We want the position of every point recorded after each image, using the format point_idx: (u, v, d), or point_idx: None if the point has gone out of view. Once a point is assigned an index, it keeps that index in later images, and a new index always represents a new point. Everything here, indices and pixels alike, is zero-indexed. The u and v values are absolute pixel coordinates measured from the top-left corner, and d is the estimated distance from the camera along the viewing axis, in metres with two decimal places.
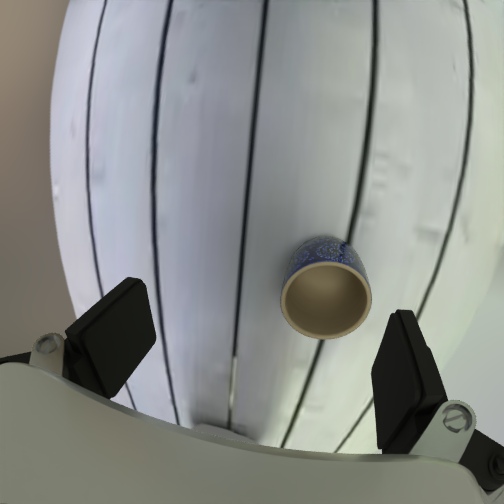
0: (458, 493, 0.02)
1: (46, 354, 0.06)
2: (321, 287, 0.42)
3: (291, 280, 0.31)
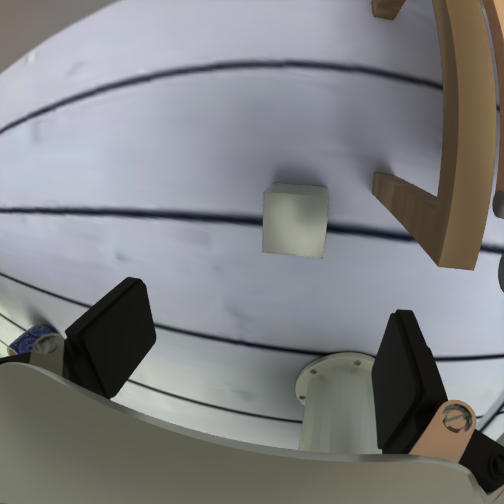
0: (458, 493, 0.02)
1: (46, 354, 0.06)
2: None
3: None
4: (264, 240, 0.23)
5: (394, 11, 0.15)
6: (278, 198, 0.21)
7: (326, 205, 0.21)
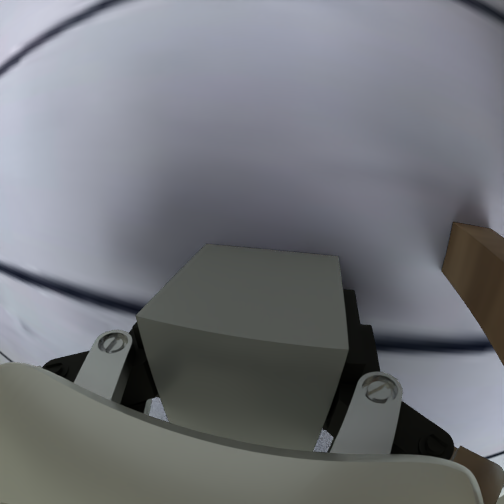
0: (458, 493, 0.02)
1: (107, 353, 0.07)
2: None
3: None
4: (168, 410, 0.08)
5: None
6: (177, 340, 0.06)
7: (335, 370, 0.06)
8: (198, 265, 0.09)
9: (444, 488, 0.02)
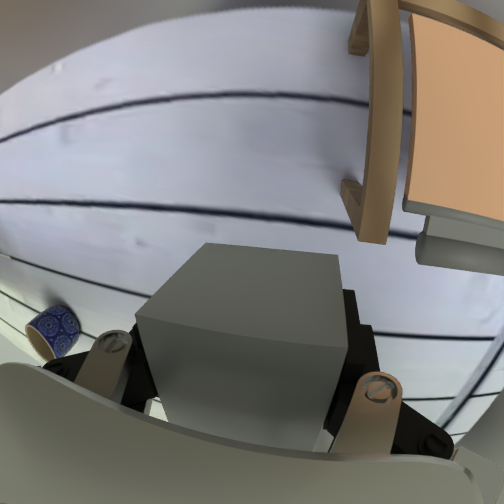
0: (458, 493, 0.02)
1: (107, 353, 0.07)
2: None
3: (38, 332, 0.43)
4: (167, 409, 0.08)
5: (364, 50, 0.23)
6: (177, 338, 0.06)
7: (335, 368, 0.06)
8: (197, 264, 0.09)
9: (444, 488, 0.02)
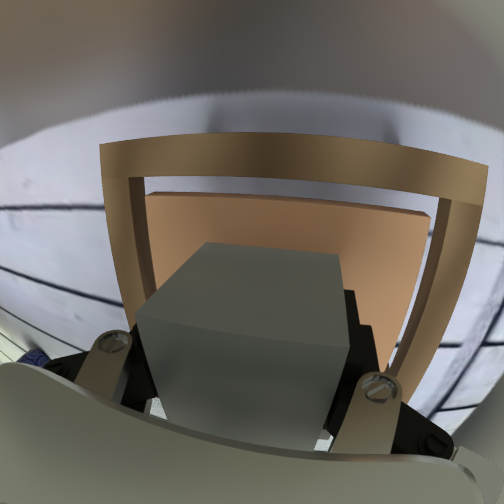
0: (458, 493, 0.02)
1: (107, 353, 0.07)
2: None
3: None
4: (167, 409, 0.08)
5: None
6: (176, 338, 0.06)
7: (336, 368, 0.06)
8: (197, 263, 0.09)
9: (444, 488, 0.02)
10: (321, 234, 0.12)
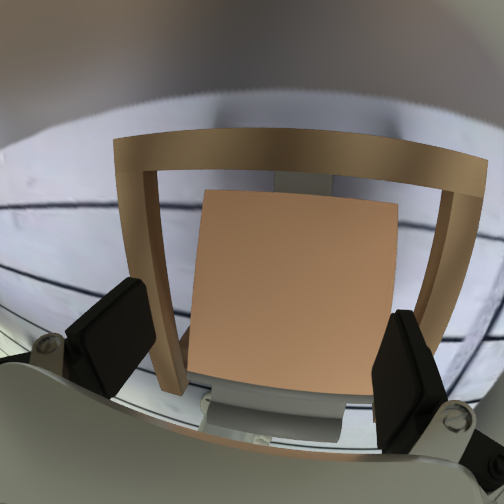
0: (458, 493, 0.02)
1: (46, 354, 0.06)
2: None
3: None
4: None
5: None
6: None
7: None
8: None
9: (444, 488, 0.02)
10: (326, 215, 0.19)
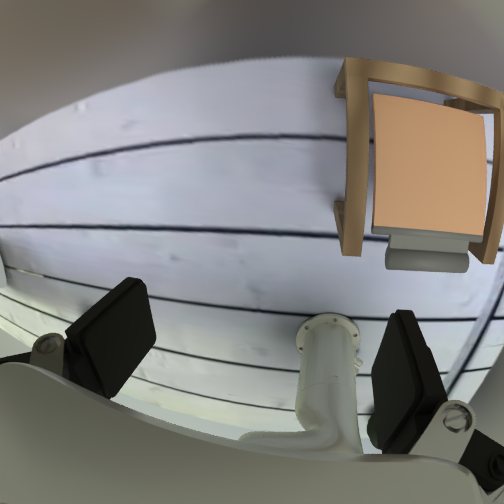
0: (458, 493, 0.02)
1: (46, 354, 0.06)
2: None
3: None
4: None
5: None
6: None
7: None
8: None
9: (444, 488, 0.02)
10: (449, 118, 0.22)
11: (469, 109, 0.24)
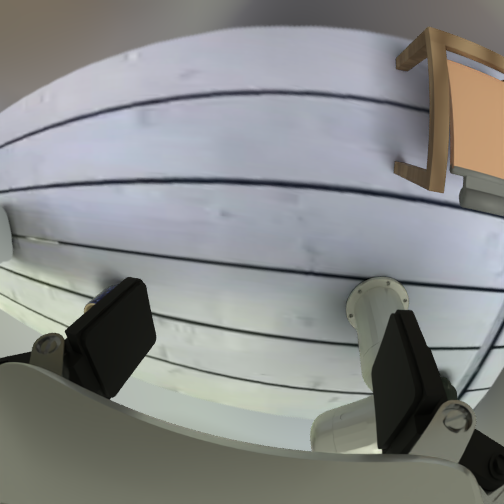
0: (458, 493, 0.02)
1: (46, 354, 0.06)
2: None
3: None
4: None
5: (409, 68, 0.31)
6: None
7: None
8: None
9: (444, 488, 0.02)
10: (501, 89, 0.19)
11: None
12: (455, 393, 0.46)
